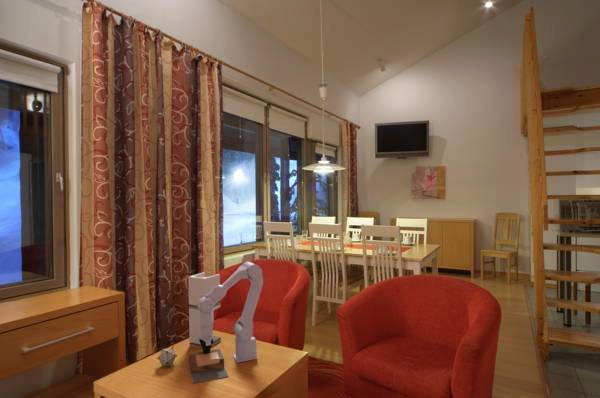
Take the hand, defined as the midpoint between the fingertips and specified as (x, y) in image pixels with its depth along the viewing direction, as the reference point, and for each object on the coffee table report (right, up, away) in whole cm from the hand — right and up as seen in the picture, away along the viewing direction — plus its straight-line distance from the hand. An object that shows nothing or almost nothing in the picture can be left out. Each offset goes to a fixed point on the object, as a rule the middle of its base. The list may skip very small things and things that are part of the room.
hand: (206, 355), depth 163 cm
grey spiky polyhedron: (-18, -5, +1) cm, 19 cm away
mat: (+3, -5, -8) cm, 10 cm away
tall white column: (-7, -5, +25) cm, 27 cm away
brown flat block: (-1, -5, +1) cm, 5 cm away
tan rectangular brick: (+1, -1, -4) cm, 4 cm away
